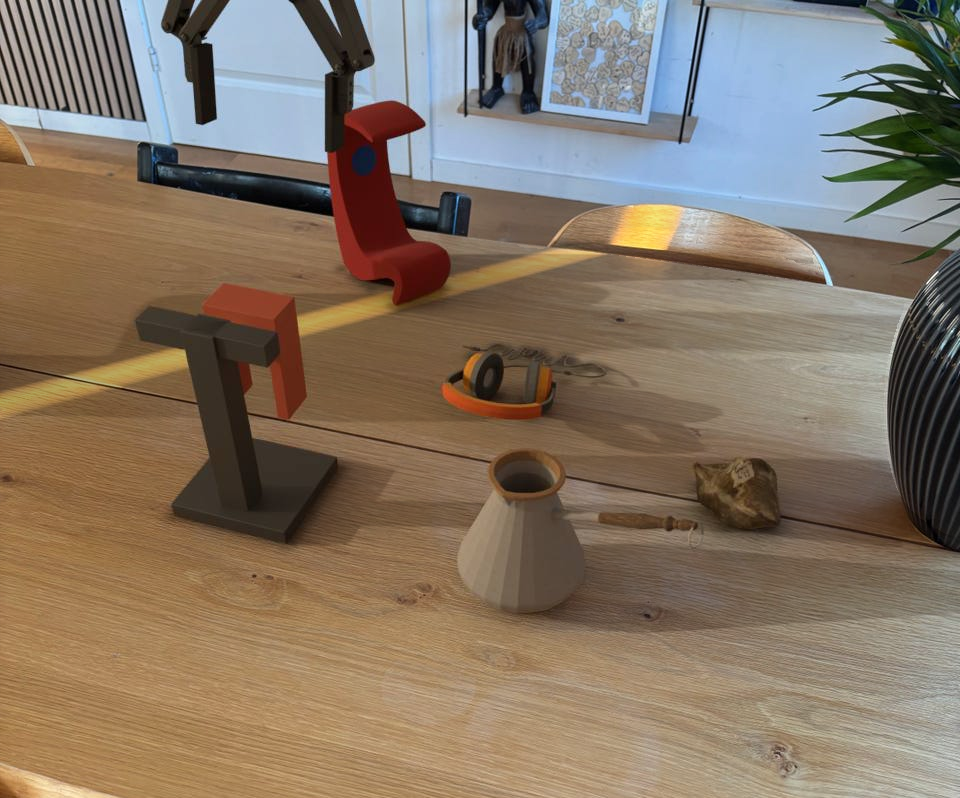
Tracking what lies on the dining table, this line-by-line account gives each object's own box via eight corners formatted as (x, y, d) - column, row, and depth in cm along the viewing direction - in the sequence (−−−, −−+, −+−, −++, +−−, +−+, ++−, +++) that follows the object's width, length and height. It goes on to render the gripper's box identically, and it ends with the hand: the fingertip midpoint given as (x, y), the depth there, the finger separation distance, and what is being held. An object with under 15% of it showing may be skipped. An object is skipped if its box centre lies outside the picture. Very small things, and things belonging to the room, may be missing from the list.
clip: (222, 405, 97) (201, 304, 89) (242, 382, 99) (223, 282, 91) (289, 420, 95) (274, 319, 87) (307, 396, 98) (294, 296, 90)
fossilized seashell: (669, 468, 100) (713, 546, 95) (716, 420, 96) (764, 499, 91) (717, 482, 105) (761, 557, 100) (764, 437, 101) (812, 513, 96)
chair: (336, 265, 131) (320, 100, 116) (382, 248, 134) (373, 85, 119) (404, 313, 123) (397, 143, 108) (452, 294, 126) (451, 126, 111)
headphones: (616, 343, 114) (565, 403, 99) (608, 388, 117) (557, 453, 102) (477, 313, 118) (407, 366, 103) (473, 358, 121) (404, 415, 106)
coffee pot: (431, 593, 91) (427, 460, 80) (503, 524, 98) (508, 392, 87) (639, 702, 83) (667, 571, 72) (702, 619, 90) (737, 486, 79)
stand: (173, 516, 98) (122, 330, 83) (235, 441, 106) (198, 259, 91) (286, 544, 95) (254, 358, 81) (340, 465, 103) (320, 283, 88)
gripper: (418, -122, 84) (405, 151, 98) (152, -165, 88) (175, 102, 102) (383, -118, 78) (373, 171, 92) (101, -164, 83) (132, 118, 97)
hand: (269, 135), depth 97 cm, fingers open, 13 cm apart
